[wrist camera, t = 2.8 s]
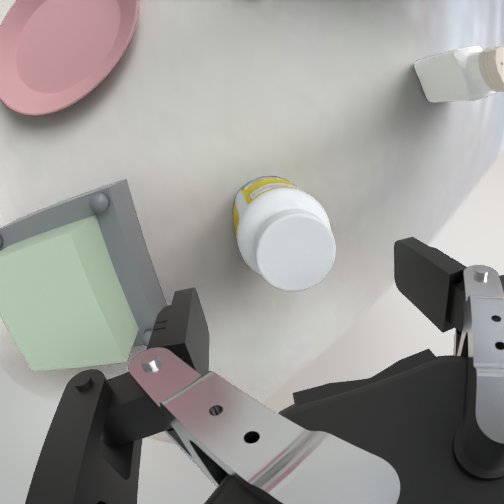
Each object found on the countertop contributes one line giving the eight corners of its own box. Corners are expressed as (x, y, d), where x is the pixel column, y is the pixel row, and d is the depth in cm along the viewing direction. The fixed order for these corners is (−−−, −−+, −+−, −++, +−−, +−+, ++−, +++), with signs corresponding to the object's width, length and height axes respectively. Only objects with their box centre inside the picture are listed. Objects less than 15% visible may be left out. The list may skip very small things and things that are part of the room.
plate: (46, -33, 14) (37, -40, 12) (175, -21, 17) (172, -32, 15) (-16, 101, 18) (-29, 100, 16) (100, 135, 21) (89, 135, 19)
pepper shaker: (409, 62, 20) (483, 42, 12) (439, 54, 20) (512, 39, 11) (425, 104, 22) (504, 102, 13) (454, 94, 22) (530, 92, 13)
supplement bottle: (277, 255, 25) (306, 321, 16) (219, 220, 24) (216, 273, 15) (316, 199, 24) (369, 238, 15) (258, 160, 23) (281, 175, 14)
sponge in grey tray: (126, 179, 22) (83, 199, 15) (170, 314, 26) (155, 375, 19) (15, 220, 22) (-40, 251, 15) (63, 333, 26) (29, 385, 19)
